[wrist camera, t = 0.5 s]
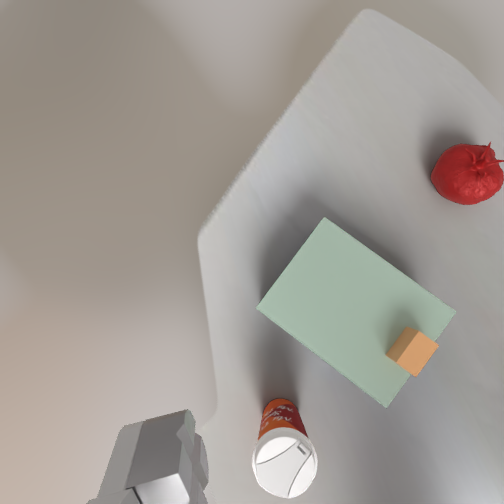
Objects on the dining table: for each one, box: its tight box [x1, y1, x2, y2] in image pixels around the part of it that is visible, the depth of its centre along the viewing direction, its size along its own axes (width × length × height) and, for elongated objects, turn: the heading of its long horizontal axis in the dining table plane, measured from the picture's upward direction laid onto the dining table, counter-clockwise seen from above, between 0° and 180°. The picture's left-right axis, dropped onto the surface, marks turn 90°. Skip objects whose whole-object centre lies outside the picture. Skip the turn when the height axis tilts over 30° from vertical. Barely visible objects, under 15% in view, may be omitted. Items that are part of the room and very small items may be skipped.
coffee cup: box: [252, 398, 318, 498], centre depth 48 cm, size 8×8×15 cm
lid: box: [256, 217, 456, 409], centre depth 46 cm, size 23×17×5 cm
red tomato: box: [431, 142, 504, 205], centre depth 52 cm, size 10×10×9 cm
